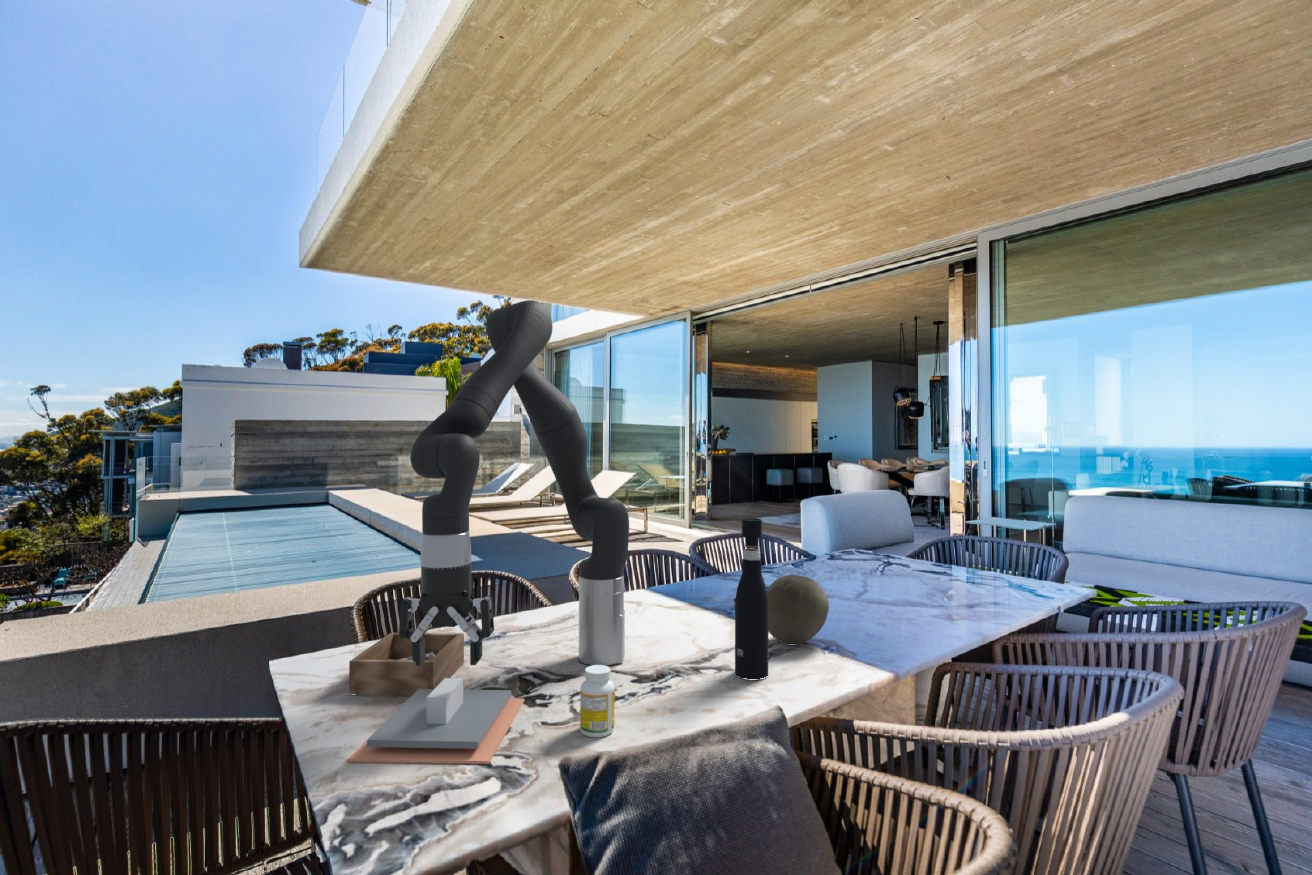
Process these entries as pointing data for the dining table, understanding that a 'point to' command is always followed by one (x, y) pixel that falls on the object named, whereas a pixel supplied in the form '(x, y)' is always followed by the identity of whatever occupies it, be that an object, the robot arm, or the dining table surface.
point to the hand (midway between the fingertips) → (447, 663)
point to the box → (405, 665)
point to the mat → (444, 754)
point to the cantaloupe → (796, 609)
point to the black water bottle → (751, 609)
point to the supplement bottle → (597, 702)
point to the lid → (442, 718)
